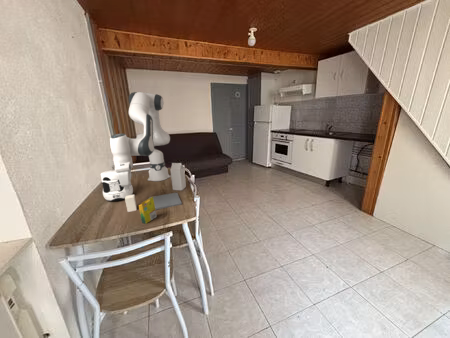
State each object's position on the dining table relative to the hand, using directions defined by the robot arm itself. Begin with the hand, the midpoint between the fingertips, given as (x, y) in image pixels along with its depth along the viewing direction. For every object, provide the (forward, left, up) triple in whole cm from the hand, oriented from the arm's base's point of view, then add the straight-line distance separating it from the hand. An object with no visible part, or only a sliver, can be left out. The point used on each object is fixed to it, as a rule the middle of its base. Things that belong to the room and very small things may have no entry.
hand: (128, 189), depth 104 cm
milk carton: (-20, +30, -13) cm, 38 cm away
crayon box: (+17, +9, -13) cm, 23 cm away
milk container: (-23, -9, -13) cm, 28 cm away
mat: (-2, +18, -13) cm, 22 cm away
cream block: (0, 0, -13) cm, 13 cm away
